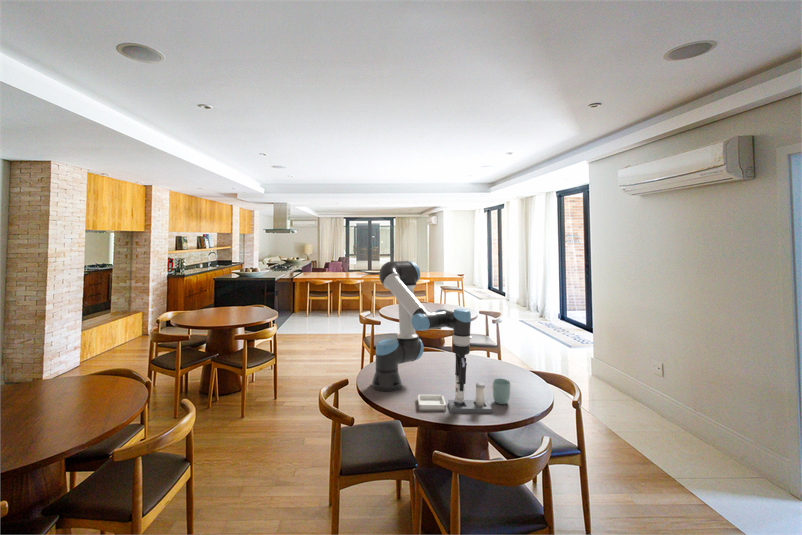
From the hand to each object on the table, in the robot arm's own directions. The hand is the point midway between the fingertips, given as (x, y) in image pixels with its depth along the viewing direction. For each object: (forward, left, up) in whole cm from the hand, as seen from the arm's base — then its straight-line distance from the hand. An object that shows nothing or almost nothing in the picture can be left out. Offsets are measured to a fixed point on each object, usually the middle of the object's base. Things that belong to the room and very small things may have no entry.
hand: (459, 395), depth 157 cm
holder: (+5, 0, -6) cm, 7 cm away
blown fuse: (0, 0, -3) cm, 3 cm away
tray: (-12, +3, -6) cm, 14 cm away
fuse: (+9, 0, -6) cm, 11 cm away
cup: (+21, +6, -6) cm, 22 cm away
